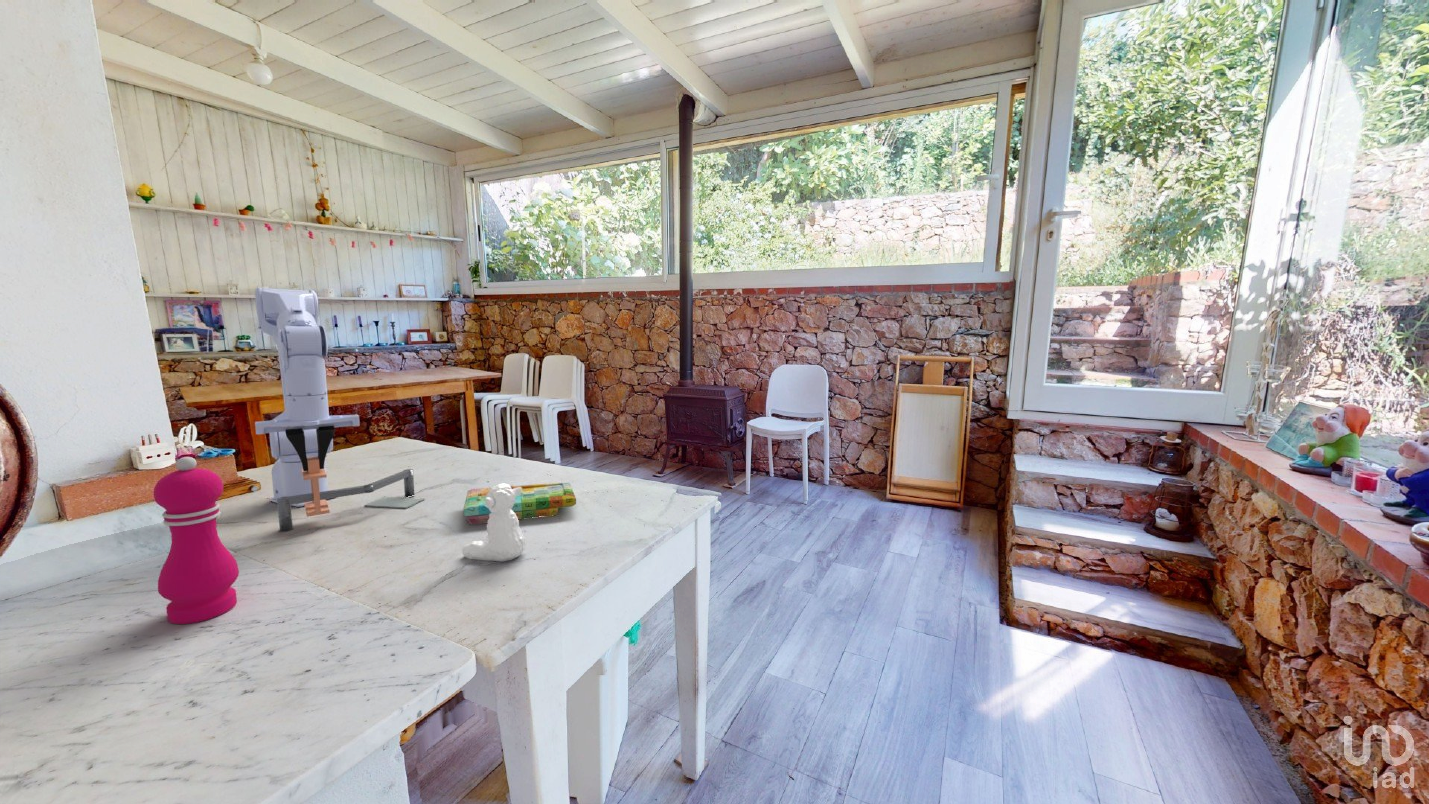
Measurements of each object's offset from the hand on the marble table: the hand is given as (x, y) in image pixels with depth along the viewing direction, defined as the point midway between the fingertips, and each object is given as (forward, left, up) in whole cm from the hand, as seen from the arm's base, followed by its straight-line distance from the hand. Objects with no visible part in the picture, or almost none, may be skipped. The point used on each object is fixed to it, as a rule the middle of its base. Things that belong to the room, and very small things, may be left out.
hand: (313, 468), depth 93 cm
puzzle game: (+29, +20, -11) cm, 37 cm away
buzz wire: (+1, +7, -10) cm, 13 cm away
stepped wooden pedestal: (0, 0, -8) cm, 8 cm away
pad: (+2, +14, -10) cm, 17 cm away
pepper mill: (+18, -25, -11) cm, 32 cm away
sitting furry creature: (+40, +3, -11) cm, 41 cm away
